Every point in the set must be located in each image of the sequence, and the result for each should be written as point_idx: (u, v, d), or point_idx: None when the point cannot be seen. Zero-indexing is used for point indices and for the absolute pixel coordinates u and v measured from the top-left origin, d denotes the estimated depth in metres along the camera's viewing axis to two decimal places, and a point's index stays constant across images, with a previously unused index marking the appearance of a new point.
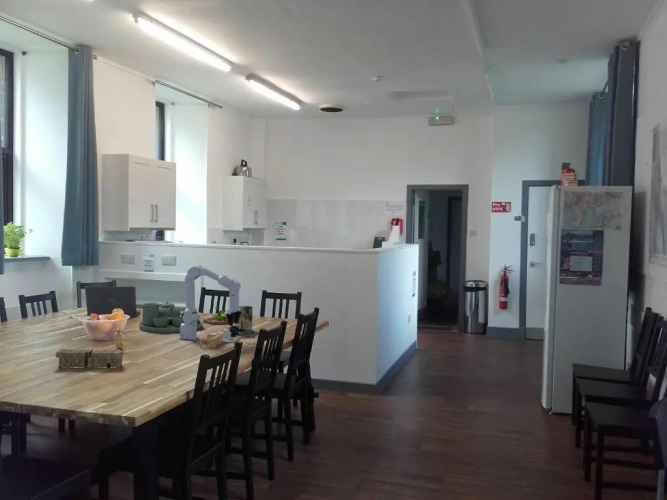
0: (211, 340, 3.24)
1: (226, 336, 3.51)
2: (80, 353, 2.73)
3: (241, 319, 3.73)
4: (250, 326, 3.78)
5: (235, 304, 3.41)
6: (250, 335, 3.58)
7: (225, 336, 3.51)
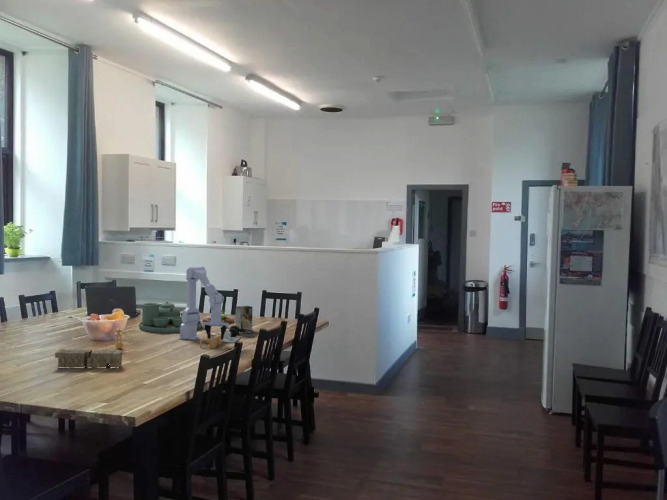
0: (211, 340, 3.24)
1: (226, 336, 3.51)
2: (79, 353, 2.73)
3: (241, 319, 3.73)
4: (250, 326, 3.78)
5: (211, 317, 3.29)
6: (251, 335, 3.58)
7: (225, 336, 3.51)
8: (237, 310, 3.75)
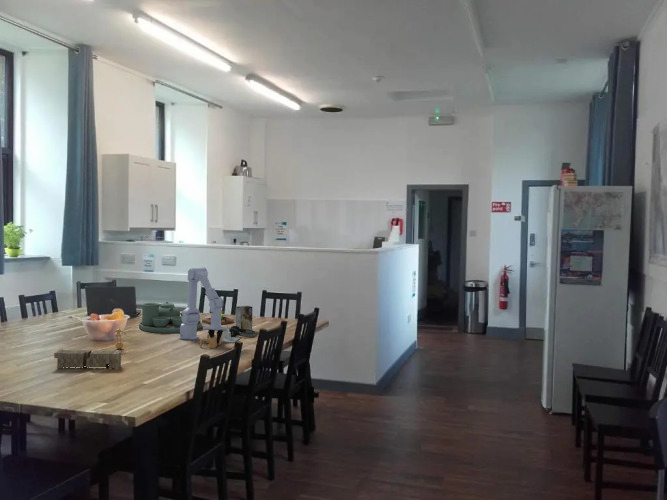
0: (211, 340, 3.24)
1: (226, 336, 3.51)
2: (79, 354, 2.72)
3: (241, 319, 3.73)
4: (250, 326, 3.78)
5: (211, 321, 3.29)
6: (251, 335, 3.58)
7: (225, 336, 3.51)
8: (237, 310, 3.75)
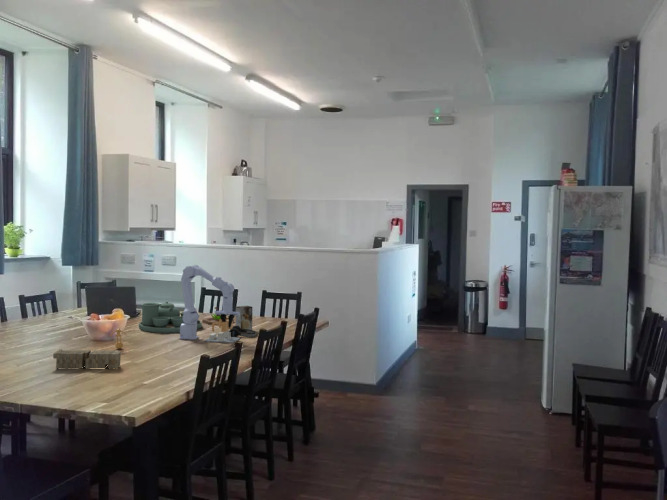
0: (223, 324, 3.37)
1: (226, 336, 3.51)
2: (78, 354, 2.71)
3: (241, 319, 3.73)
4: (250, 326, 3.78)
5: (223, 306, 3.41)
6: (252, 335, 3.58)
7: (225, 336, 3.51)
8: (237, 310, 3.75)
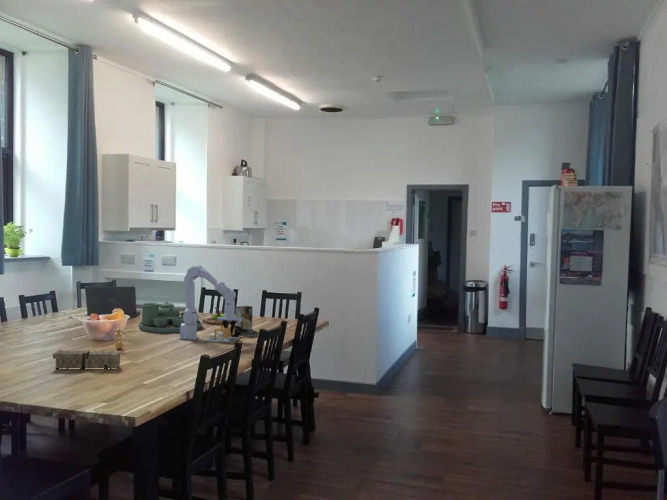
0: (225, 330, 3.40)
1: None
2: (77, 354, 2.71)
3: None
4: (250, 326, 3.78)
5: (225, 312, 3.44)
6: (253, 335, 3.59)
7: None
8: (237, 310, 3.75)
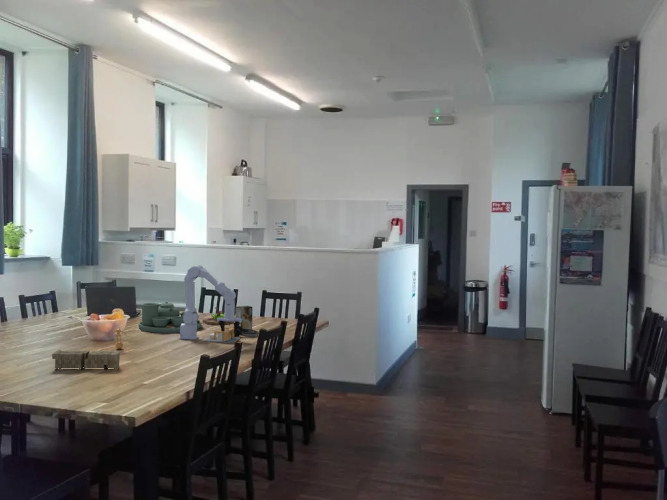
0: (225, 333, 3.40)
1: None
2: (77, 354, 2.70)
3: None
4: (250, 326, 3.78)
5: (225, 313, 3.44)
6: (254, 335, 3.59)
7: None
8: (237, 310, 3.75)
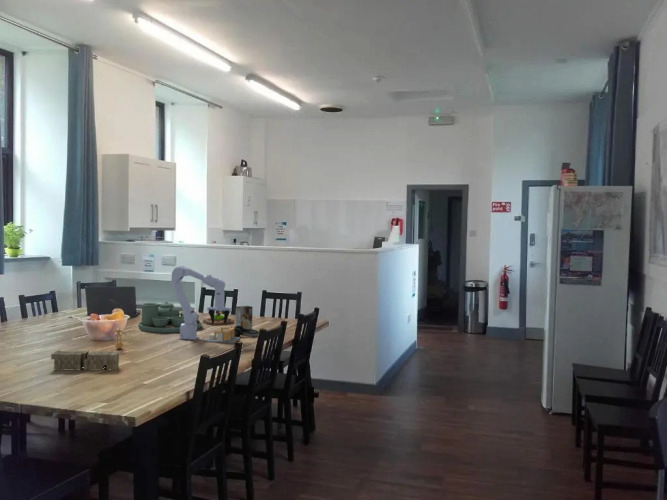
0: (225, 333, 3.40)
1: None
2: (76, 355, 2.70)
3: (241, 319, 3.73)
4: (250, 326, 3.78)
5: (215, 302, 3.47)
6: (254, 335, 3.59)
7: None
8: (237, 310, 3.75)
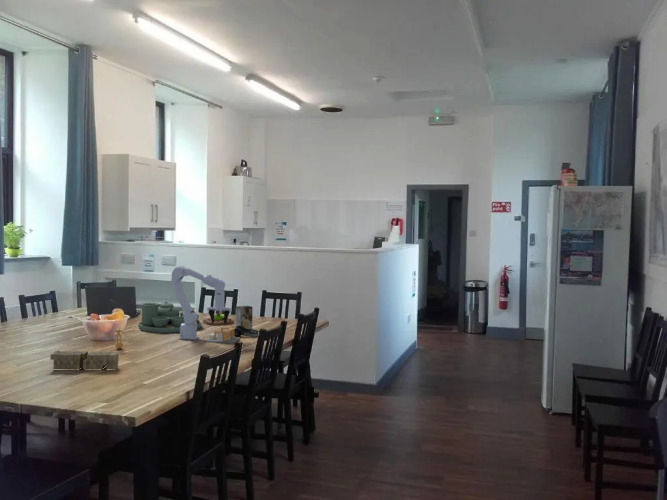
0: (225, 333, 3.40)
1: None
2: (75, 355, 2.69)
3: (241, 319, 3.73)
4: (250, 326, 3.78)
5: (215, 302, 3.47)
6: (255, 335, 3.59)
7: None
8: (237, 310, 3.75)
